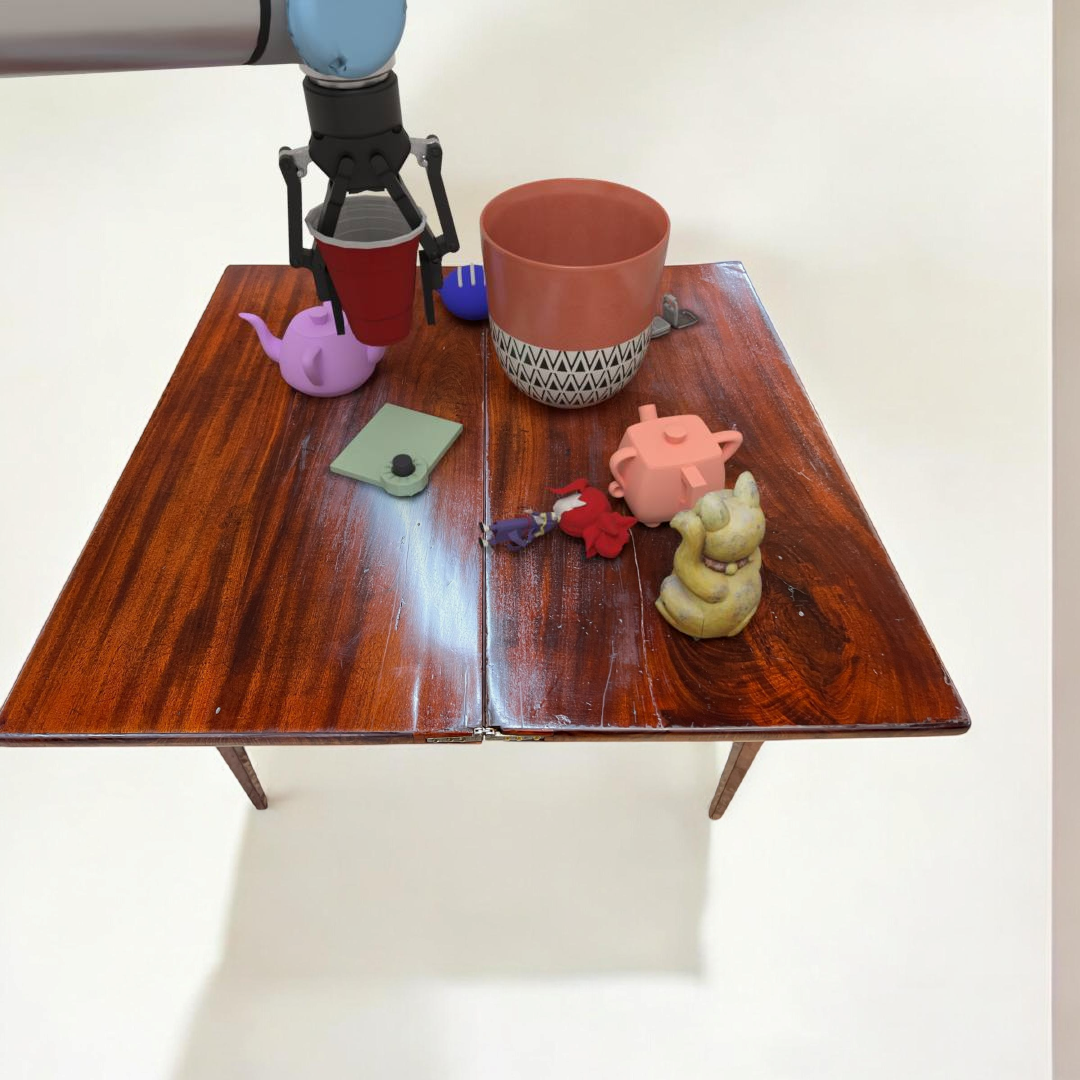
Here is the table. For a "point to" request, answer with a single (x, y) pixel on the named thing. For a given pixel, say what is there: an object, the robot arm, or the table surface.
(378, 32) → the robot arm
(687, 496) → the teapot
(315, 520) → the table surface
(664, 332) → the strap clip
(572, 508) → the figurine
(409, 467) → the tare button
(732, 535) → the decorative figurine
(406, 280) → the plastic cup
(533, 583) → the table surface
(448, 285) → the decorative object
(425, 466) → the scale
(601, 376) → the planter
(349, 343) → the teapot
